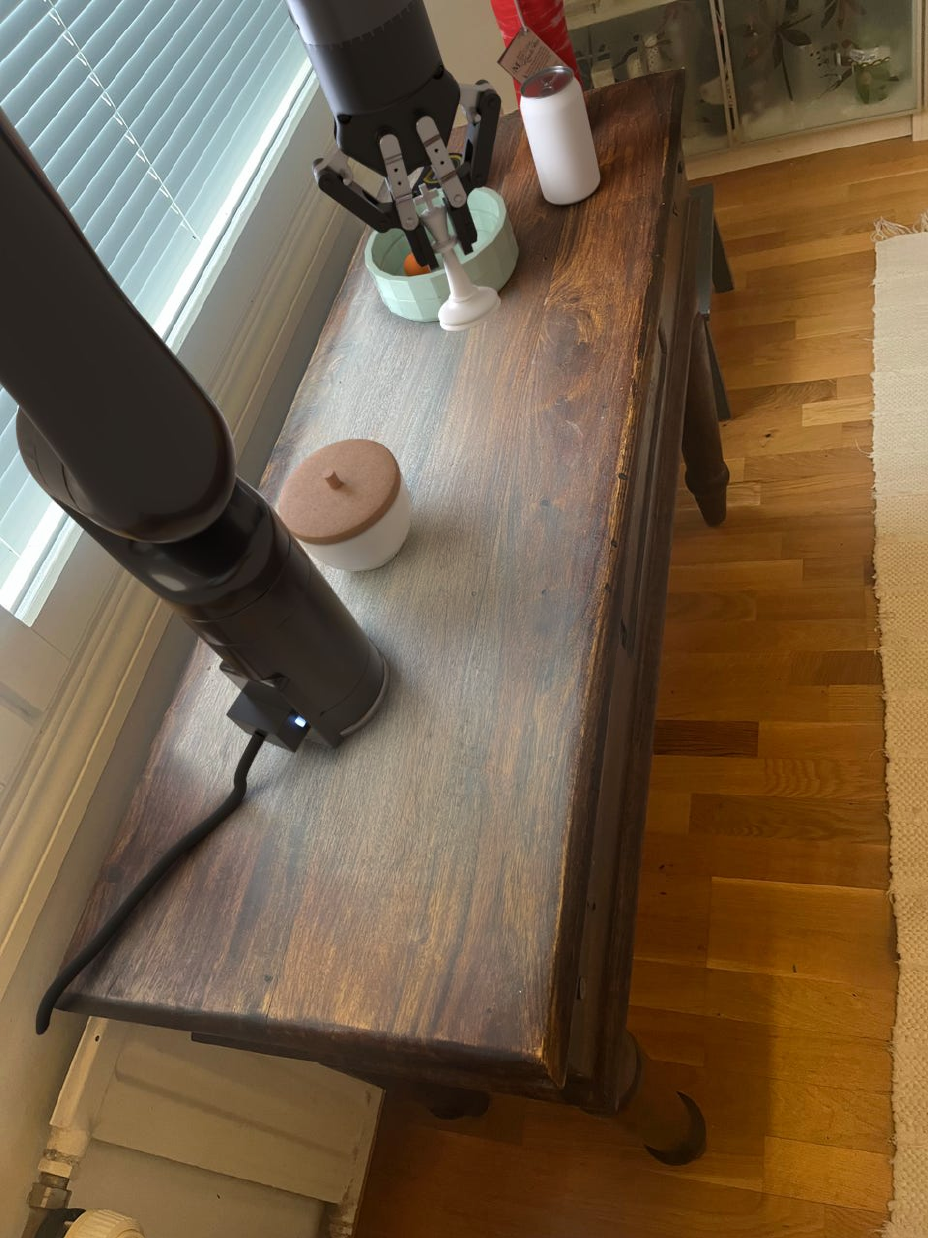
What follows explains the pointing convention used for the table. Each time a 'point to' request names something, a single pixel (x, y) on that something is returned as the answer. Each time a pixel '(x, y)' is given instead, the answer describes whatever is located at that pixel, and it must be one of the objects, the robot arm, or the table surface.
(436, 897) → the table surface
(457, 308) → the chess piece
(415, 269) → the ball
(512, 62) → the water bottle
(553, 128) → the can
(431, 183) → the tape measure
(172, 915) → the table surface
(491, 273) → the bowl
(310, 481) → the trinket box
